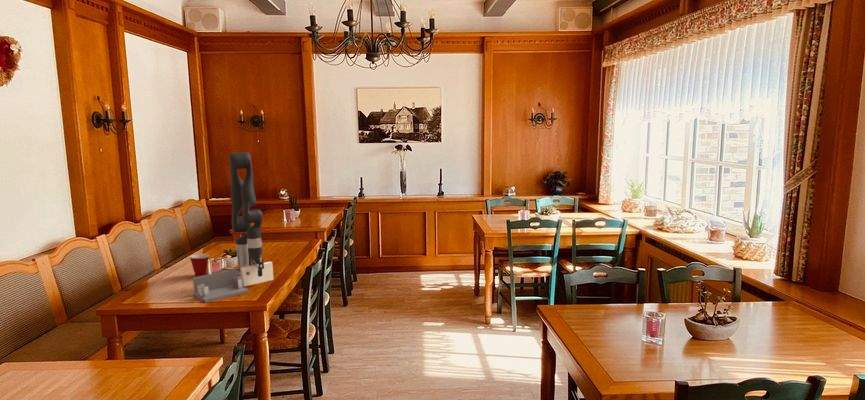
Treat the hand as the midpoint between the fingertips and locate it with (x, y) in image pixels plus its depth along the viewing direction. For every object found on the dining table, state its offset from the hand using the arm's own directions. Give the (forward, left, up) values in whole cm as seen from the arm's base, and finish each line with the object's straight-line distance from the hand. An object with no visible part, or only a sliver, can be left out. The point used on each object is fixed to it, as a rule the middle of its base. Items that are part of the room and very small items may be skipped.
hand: (257, 275), depth 287 cm
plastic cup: (-39, -17, -5) cm, 43 cm away
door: (0, 0, -4) cm, 4 cm away
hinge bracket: (+6, -22, -4) cm, 23 cm away
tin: (-11, -10, -5) cm, 16 cm away
